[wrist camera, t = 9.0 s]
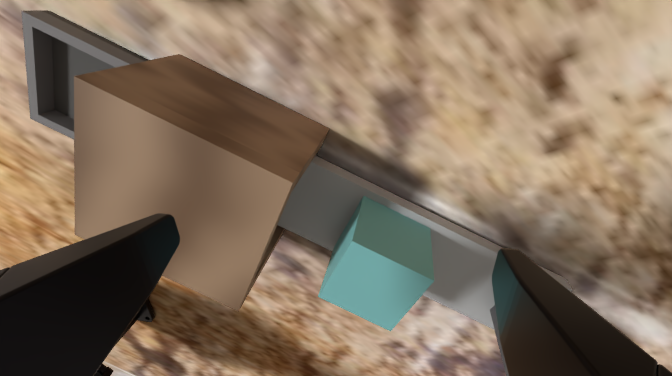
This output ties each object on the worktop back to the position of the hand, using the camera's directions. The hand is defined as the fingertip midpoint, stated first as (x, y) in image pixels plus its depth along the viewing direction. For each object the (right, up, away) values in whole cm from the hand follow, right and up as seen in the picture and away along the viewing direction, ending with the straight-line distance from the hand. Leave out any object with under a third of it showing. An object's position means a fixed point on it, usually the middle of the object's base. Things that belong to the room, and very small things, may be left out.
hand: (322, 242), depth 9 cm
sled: (+5, -2, +14) cm, 15 cm away
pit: (-15, +8, +13) cm, 22 cm away
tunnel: (-6, +4, +13) cm, 15 cm away
